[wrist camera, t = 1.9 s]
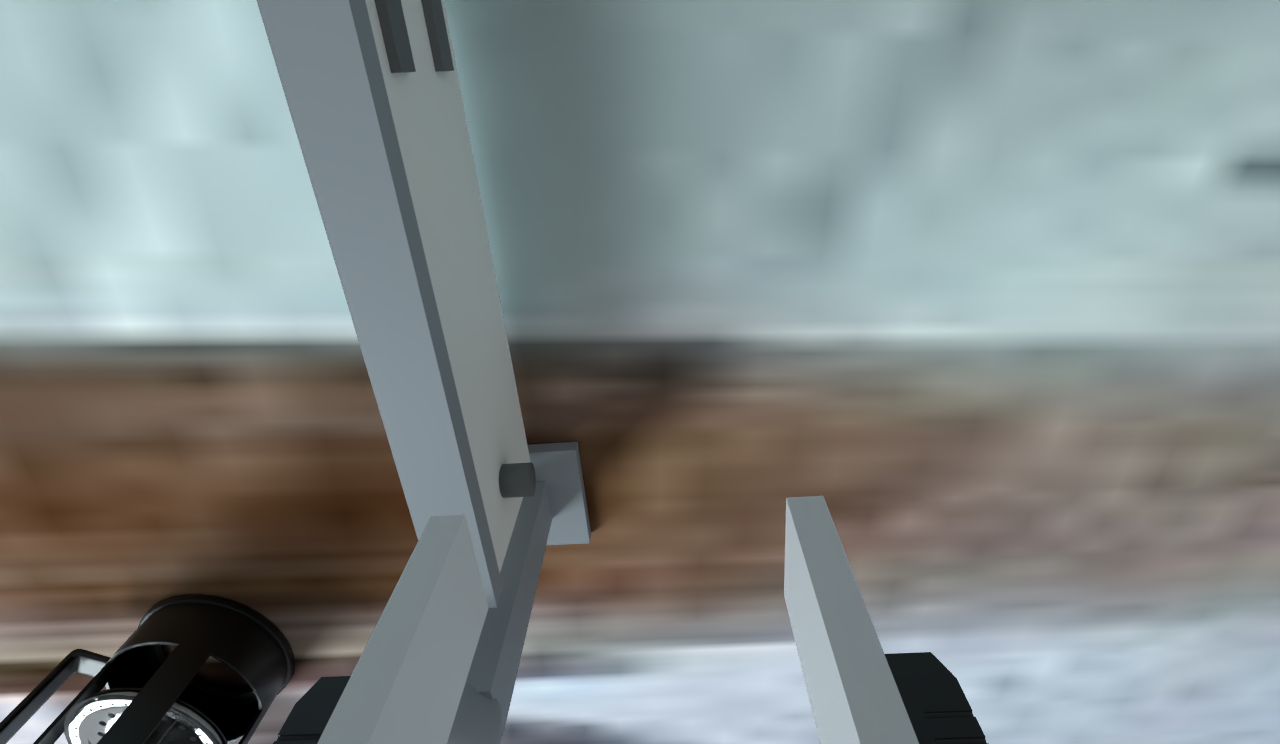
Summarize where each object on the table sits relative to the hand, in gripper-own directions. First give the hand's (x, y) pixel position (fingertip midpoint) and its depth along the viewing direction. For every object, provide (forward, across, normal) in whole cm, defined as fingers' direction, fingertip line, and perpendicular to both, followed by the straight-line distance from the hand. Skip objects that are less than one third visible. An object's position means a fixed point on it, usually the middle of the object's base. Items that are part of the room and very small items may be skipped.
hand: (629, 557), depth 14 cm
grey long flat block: (+16, -7, +4) cm, 17 cm away
